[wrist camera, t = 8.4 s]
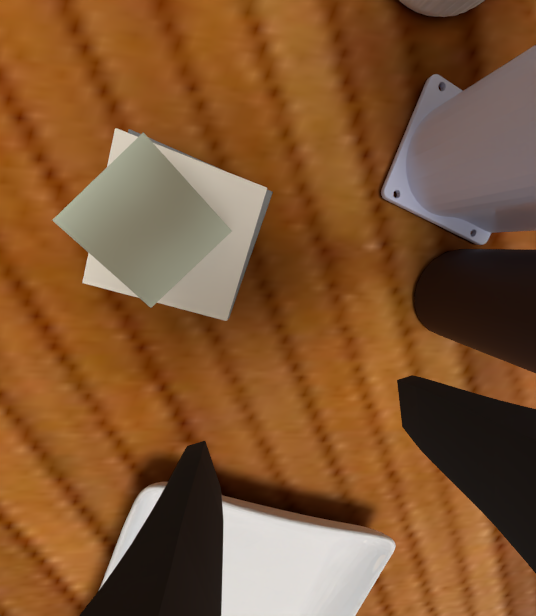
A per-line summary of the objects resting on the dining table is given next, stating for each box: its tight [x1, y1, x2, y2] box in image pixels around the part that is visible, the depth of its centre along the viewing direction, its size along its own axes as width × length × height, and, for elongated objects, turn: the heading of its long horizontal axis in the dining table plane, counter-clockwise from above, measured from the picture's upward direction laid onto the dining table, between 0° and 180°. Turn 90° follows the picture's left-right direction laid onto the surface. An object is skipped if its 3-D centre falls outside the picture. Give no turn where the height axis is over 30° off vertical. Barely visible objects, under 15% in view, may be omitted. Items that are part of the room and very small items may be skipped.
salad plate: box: [99, 482, 396, 616], centre depth 23 cm, size 21×21×3 cm
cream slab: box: [82, 128, 267, 321], centre depth 14 cm, size 7×7×2 cm
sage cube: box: [53, 133, 232, 308], centre depth 11 cm, size 4×4×4 cm
